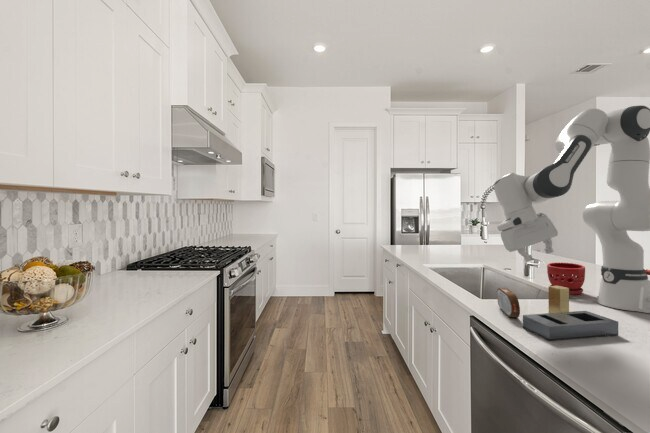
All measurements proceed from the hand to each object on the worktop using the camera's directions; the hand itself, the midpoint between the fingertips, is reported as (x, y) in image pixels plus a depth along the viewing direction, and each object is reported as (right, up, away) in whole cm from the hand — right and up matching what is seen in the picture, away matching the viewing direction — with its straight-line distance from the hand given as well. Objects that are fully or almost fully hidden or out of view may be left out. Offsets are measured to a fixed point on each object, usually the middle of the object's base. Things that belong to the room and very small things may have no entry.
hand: (540, 256), depth 107 cm
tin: (-8, -21, +5) cm, 23 cm away
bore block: (+1, -21, -12) cm, 24 cm away
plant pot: (+32, -19, +30) cm, 48 cm away
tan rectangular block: (+7, -20, +1) cm, 22 cm away
